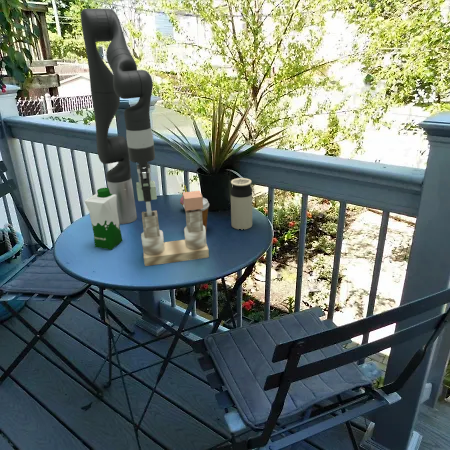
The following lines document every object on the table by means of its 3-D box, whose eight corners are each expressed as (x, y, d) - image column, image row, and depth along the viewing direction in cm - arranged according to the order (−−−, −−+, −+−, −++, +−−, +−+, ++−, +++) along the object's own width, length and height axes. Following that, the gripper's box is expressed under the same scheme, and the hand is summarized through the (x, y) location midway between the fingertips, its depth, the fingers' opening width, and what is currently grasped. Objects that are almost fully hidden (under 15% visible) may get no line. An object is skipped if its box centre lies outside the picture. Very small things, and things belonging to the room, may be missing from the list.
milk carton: (126, 239, 146) (118, 188, 137) (111, 251, 138) (102, 198, 129) (106, 236, 149) (96, 186, 140) (90, 248, 141) (79, 195, 132)
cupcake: (184, 216, 163) (182, 188, 157) (178, 208, 170) (175, 181, 164) (204, 212, 166) (202, 184, 160) (197, 204, 173) (195, 178, 167)
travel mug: (252, 230, 150) (252, 184, 142) (231, 230, 150) (230, 185, 142) (251, 220, 157) (251, 177, 149) (231, 221, 157) (230, 177, 149)
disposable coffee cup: (207, 237, 145) (205, 207, 140) (182, 236, 147) (179, 206, 142) (213, 226, 154) (211, 197, 148) (189, 224, 155) (187, 196, 150)
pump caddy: (144, 266, 129) (138, 221, 122) (144, 252, 137) (138, 209, 130) (209, 257, 133) (206, 213, 126) (204, 244, 141) (201, 202, 134)
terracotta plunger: (187, 230, 129) (184, 198, 124) (185, 223, 134) (182, 192, 129) (204, 228, 130) (202, 196, 125) (201, 221, 135) (199, 190, 130)
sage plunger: (141, 222, 124) (136, 188, 119) (140, 214, 129) (136, 182, 124) (159, 219, 125) (155, 186, 120) (158, 212, 130) (154, 180, 125)
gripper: (155, 149, 111) (161, 205, 118) (152, 137, 124) (158, 188, 131) (127, 151, 110) (135, 207, 117) (127, 139, 122) (134, 190, 130)
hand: (147, 197), depth 124 cm, fingers closed on sage plunger, 5 cm apart
